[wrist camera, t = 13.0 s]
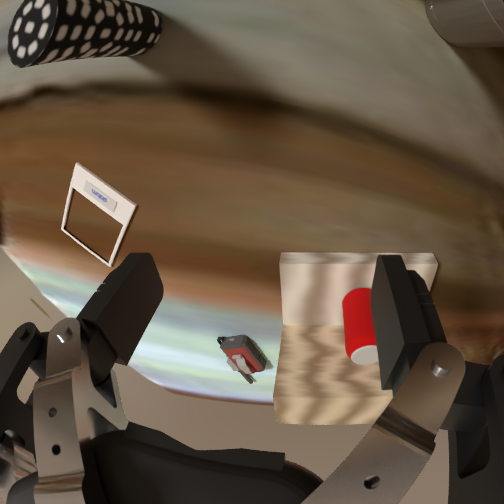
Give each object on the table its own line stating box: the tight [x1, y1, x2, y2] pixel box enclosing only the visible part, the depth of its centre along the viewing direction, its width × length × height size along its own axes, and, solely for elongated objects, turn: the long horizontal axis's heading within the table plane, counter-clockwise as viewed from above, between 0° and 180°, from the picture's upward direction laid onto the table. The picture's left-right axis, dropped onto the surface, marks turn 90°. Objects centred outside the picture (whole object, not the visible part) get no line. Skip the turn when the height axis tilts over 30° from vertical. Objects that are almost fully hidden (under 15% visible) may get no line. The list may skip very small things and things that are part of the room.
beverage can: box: [342, 287, 378, 365], centre depth 40 cm, size 6×6×12 cm
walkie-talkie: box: [217, 335, 266, 384], centre depth 64 cm, size 9×4×20 cm
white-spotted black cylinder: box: [7, 0, 162, 68], centre depth 20 cm, size 8×8×20 cm
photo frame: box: [61, 162, 137, 267], centre depth 48 cm, size 15×1×18 cm
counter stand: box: [273, 252, 438, 425], centre depth 43 cm, size 26×26×18 cm
